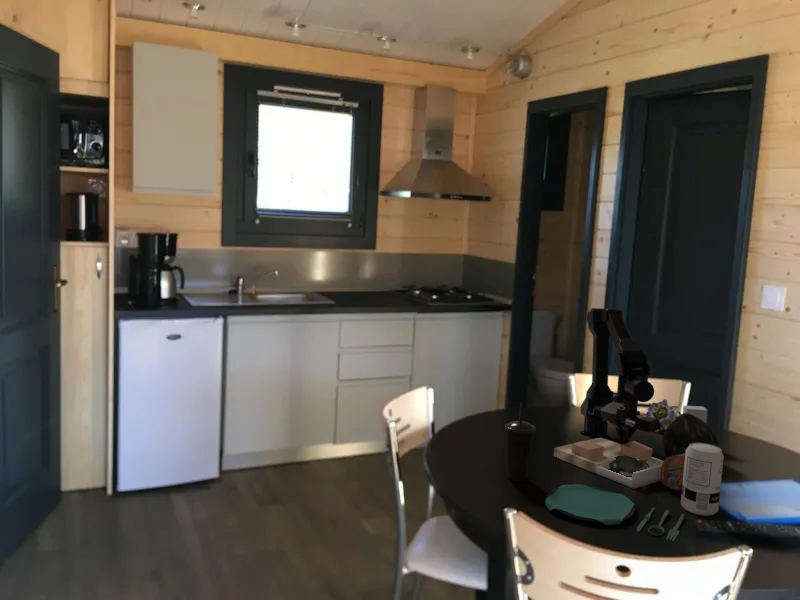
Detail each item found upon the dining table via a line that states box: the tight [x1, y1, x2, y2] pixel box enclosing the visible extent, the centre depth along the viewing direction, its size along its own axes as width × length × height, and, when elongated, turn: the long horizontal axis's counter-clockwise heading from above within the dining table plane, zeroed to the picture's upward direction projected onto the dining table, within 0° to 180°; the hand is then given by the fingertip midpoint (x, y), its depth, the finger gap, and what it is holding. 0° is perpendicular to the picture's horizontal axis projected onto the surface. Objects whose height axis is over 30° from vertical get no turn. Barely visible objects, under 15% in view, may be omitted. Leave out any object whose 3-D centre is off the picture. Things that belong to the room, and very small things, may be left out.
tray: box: [595, 456, 665, 490], centre depth 190 cm, size 12×20×4 cm, turn 125°
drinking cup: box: [504, 401, 536, 482], centre depth 182 cm, size 8×8×20 cm
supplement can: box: [680, 443, 725, 516], centre depth 167 cm, size 8×8×15 cm
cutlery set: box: [544, 483, 686, 542], centre depth 163 cm, size 20×30×2 cm, turn 58°
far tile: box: [620, 440, 654, 461], centre depth 197 cm, size 6×6×2 cm
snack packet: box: [660, 453, 685, 491], centre depth 182 cm, size 15×3×8 cm, turn 117°
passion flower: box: [641, 398, 682, 433], centre depth 231 cm, size 11×11×12 cm
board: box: [553, 437, 625, 474], centre depth 201 cm, size 15×20×2 cm
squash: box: [662, 412, 720, 458], centre depth 200 cm, size 14×15×15 cm
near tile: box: [571, 440, 604, 459], centre depth 197 cm, size 6×6×2 cm
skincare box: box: [682, 405, 708, 424], centre depth 215 cm, size 6×4×12 cm
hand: (623, 447), depth 200 cm, fingers closed
